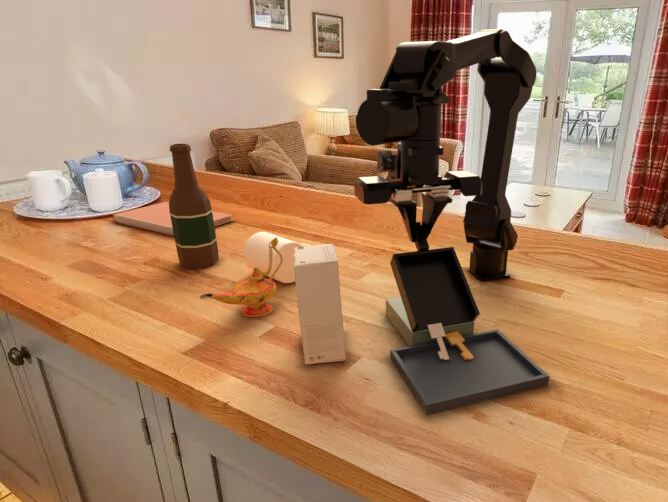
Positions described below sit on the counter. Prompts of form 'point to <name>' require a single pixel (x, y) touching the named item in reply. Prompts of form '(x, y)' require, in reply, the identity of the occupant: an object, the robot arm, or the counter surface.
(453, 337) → the brass key
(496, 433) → the counter surface
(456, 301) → the dish
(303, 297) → the cosmetic box
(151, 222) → the notebook
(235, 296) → the magic lamp
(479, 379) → the tray
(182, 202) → the beer bottle
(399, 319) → the stand
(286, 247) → the mug
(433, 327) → the steel key
